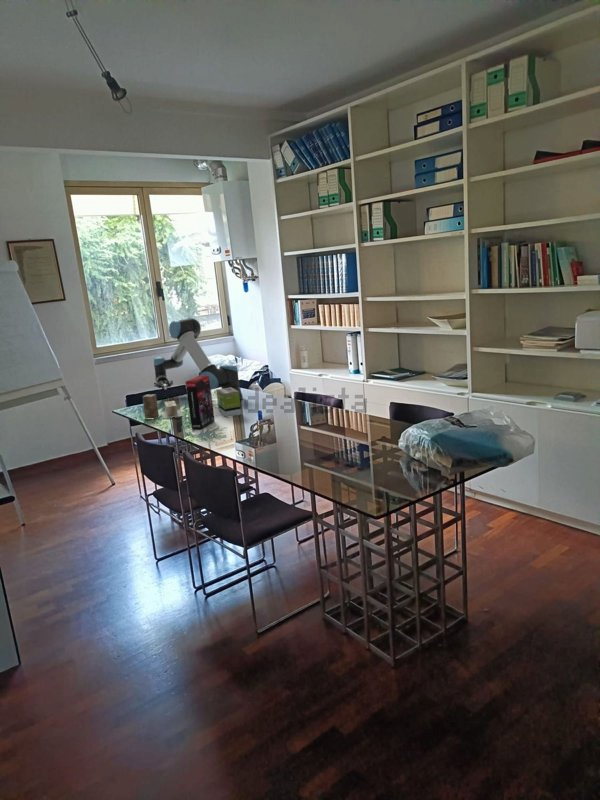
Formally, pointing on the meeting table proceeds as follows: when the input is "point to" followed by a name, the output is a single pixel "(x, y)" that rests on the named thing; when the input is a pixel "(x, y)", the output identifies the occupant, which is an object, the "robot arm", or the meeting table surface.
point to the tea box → (228, 401)
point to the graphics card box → (200, 402)
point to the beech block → (171, 408)
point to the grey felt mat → (172, 416)
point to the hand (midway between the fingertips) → (165, 387)
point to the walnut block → (150, 406)
